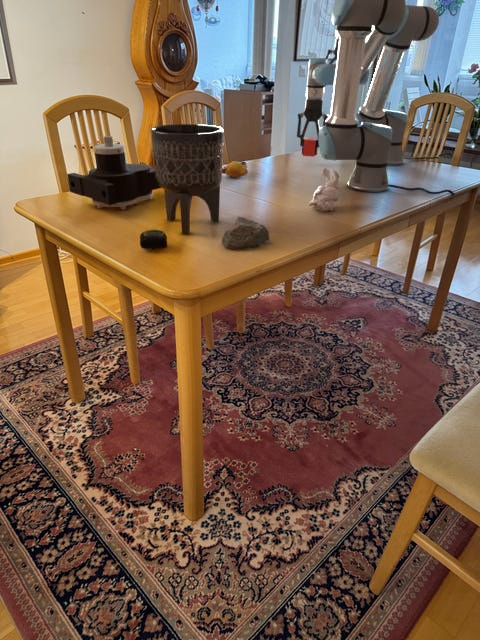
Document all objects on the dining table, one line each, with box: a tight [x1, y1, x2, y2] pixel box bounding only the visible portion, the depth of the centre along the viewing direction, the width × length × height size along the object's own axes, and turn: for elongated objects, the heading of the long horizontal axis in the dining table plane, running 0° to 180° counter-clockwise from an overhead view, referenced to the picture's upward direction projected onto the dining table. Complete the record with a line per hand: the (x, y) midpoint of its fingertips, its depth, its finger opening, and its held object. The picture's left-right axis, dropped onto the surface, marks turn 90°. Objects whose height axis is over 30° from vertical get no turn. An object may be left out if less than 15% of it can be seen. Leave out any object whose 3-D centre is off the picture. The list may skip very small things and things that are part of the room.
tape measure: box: [139, 229, 168, 250], centre depth 117 cm, size 7×7×4 cm
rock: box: [221, 216, 270, 250], centre depth 119 cm, size 13×9×6 cm, turn 131°
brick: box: [302, 137, 318, 158], centre depth 208 cm, size 6×5×7 cm
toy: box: [222, 160, 249, 178], centre depth 190 cm, size 11×6×15 cm
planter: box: [149, 123, 225, 235], centre depth 128 cm, size 20×20×26 cm
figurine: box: [308, 167, 340, 211], centre depth 148 cm, size 8×15×13 cm, turn 145°
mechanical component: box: [67, 135, 162, 210], centre depth 149 cm, size 22×21×30 cm
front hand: (309, 154), depth 210 cm, fingers closed on brick, 5 cm apart
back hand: (338, 87), depth 231 cm, fingers open, 13 cm apart
